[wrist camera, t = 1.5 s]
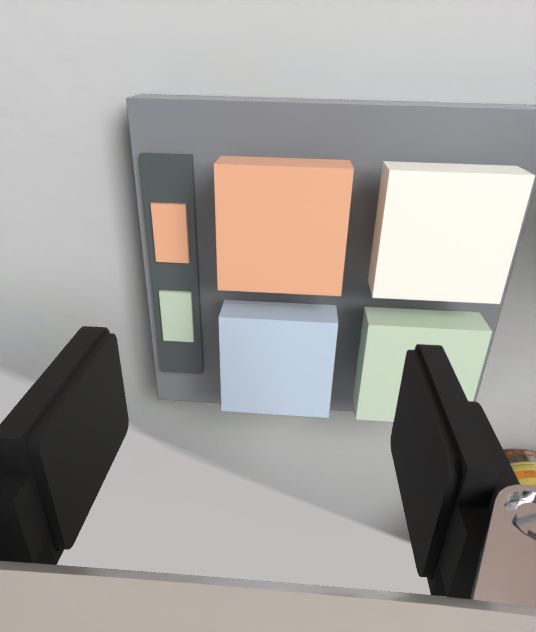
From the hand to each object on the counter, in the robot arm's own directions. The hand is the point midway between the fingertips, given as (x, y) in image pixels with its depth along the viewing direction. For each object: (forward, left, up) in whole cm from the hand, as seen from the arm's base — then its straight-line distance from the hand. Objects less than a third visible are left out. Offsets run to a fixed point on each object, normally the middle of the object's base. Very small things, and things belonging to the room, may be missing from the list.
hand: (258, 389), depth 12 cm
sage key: (-8, +7, -14) cm, 17 cm away
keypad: (-2, +4, -18) cm, 18 cm away
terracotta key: (0, 0, -14) cm, 14 cm away
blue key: (0, +7, -14) cm, 16 cm away
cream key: (-8, 0, -14) cm, 16 cm away
